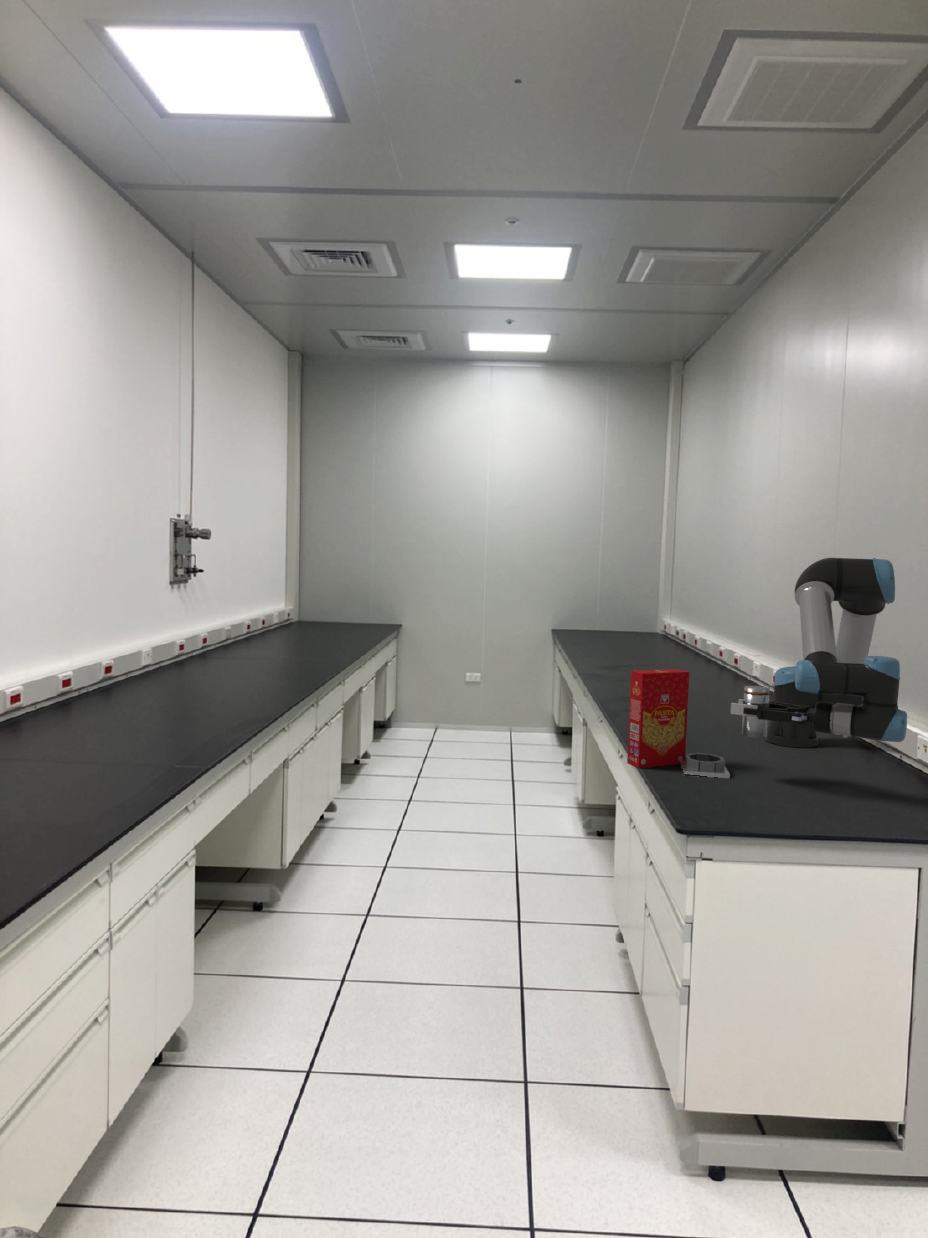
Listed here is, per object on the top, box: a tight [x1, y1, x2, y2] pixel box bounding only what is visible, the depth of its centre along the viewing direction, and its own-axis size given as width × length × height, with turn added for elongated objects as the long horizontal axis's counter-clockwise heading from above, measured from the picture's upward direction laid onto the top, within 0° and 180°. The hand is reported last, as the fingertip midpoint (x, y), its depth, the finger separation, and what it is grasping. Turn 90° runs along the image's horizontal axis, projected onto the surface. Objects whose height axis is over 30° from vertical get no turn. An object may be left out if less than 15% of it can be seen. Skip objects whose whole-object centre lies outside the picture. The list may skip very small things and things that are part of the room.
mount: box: [679, 752, 731, 779], centre depth 211 cm, size 11×11×4 cm
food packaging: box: [626, 668, 690, 769], centre depth 217 cm, size 15×5×25 cm, turn 112°
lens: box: [741, 685, 771, 739], centre depth 204 cm, size 6×6×12 cm
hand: (735, 706), depth 207 cm, fingers closed on lens, 6 cm apart
